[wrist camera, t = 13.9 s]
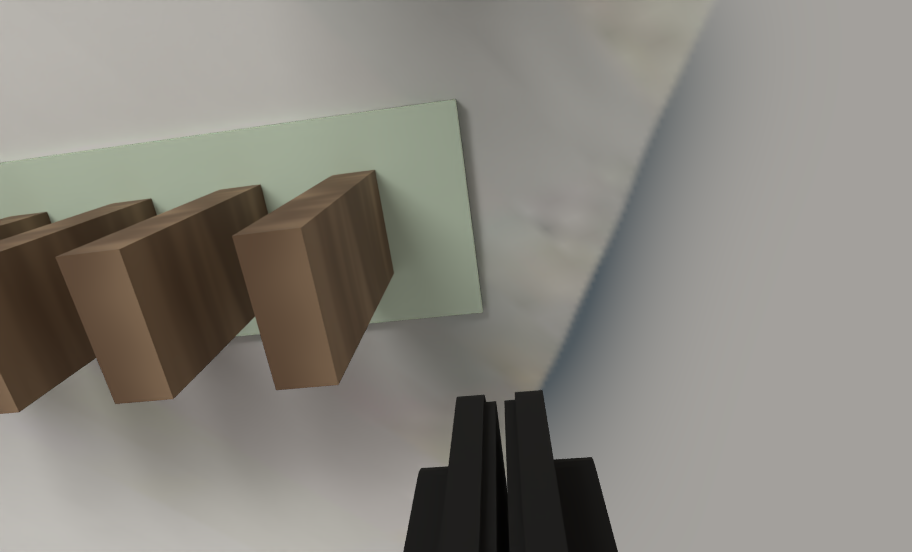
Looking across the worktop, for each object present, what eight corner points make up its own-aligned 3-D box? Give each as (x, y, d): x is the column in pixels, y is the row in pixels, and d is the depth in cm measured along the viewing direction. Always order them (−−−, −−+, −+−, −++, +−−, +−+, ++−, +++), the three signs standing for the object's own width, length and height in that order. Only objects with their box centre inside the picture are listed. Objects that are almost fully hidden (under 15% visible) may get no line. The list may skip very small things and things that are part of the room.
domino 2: (260, 184, 30) (118, 249, 18) (286, 284, 32) (173, 398, 20) (219, 189, 30) (55, 257, 19) (248, 288, 32) (115, 403, 21)
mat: (456, 98, 28) (455, 99, 27) (483, 309, 32) (482, 312, 31) (-176, 187, 32) (-186, 189, 31) (-81, 364, 36) (-88, 368, 35)
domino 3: (375, 169, 29) (300, 227, 18) (394, 273, 31) (338, 385, 20) (332, 175, 29) (232, 235, 18) (353, 277, 31) (276, 390, 20)
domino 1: (151, 198, 30) (-50, 269, 19) (183, 295, 32) (19, 411, 21) (112, 203, 30) (-109, 276, 19) (146, 299, 33) (-36, 416, 21)
